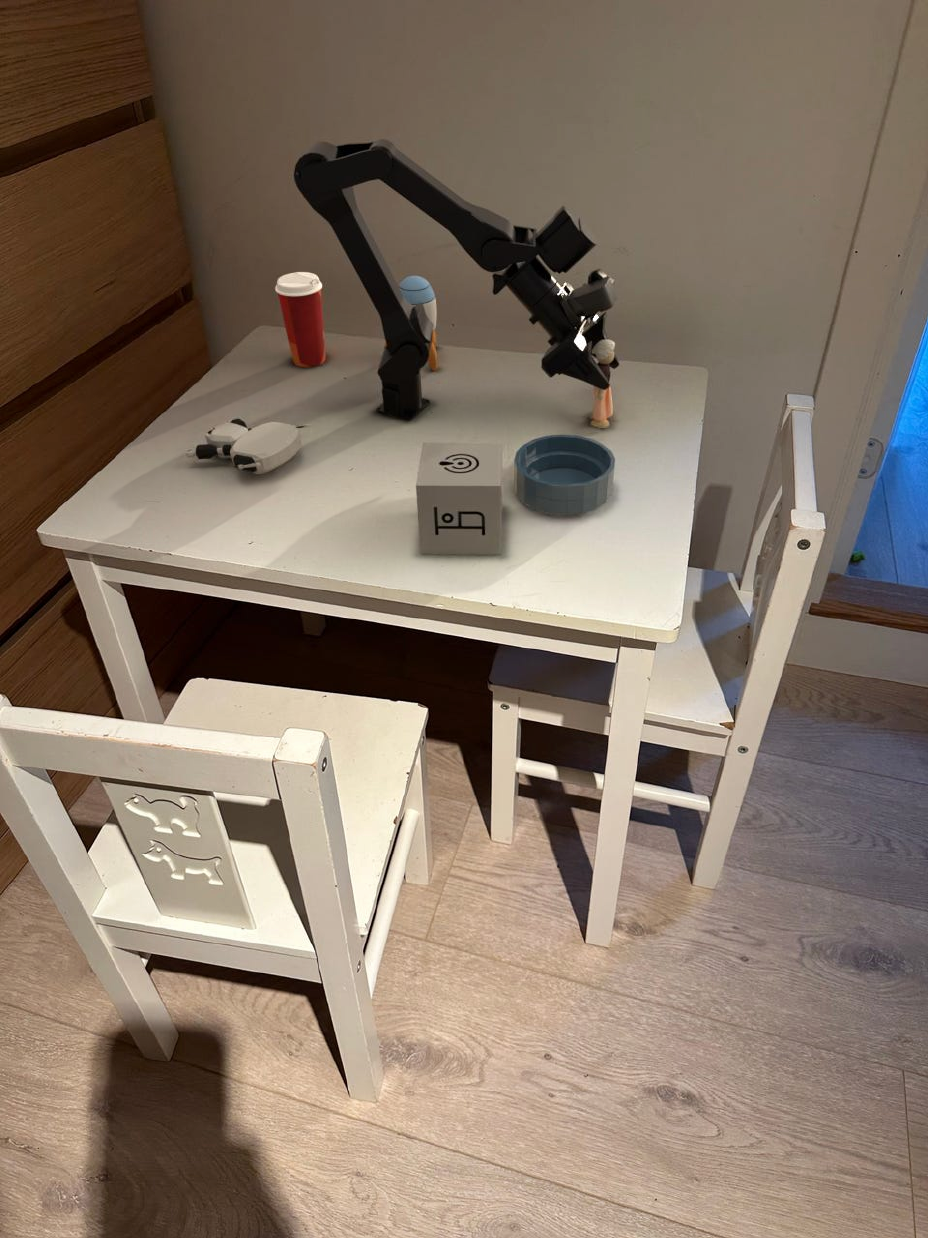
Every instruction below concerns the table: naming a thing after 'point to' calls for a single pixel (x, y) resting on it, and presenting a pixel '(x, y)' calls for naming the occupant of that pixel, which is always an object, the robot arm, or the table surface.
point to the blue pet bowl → (563, 474)
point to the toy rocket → (421, 291)
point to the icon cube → (460, 498)
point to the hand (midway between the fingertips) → (612, 377)
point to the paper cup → (303, 317)
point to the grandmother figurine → (602, 397)
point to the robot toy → (251, 445)
